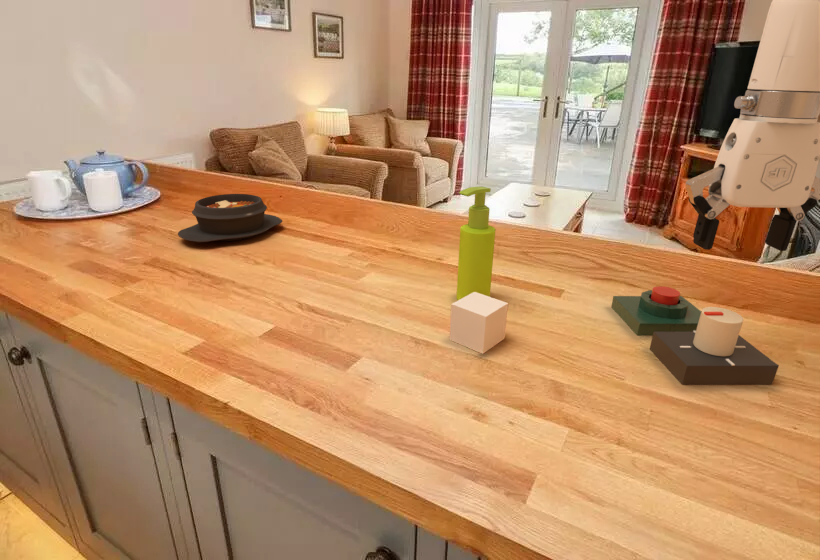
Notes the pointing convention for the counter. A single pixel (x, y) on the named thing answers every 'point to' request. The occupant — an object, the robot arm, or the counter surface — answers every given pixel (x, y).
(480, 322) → the pale pink cube
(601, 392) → the counter surface
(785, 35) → the robot arm
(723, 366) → the dial panel
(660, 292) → the press top
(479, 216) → the soap dispenser
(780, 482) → the counter surface
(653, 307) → the button base
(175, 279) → the counter surface
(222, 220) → the casserole
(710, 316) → the lock knob
